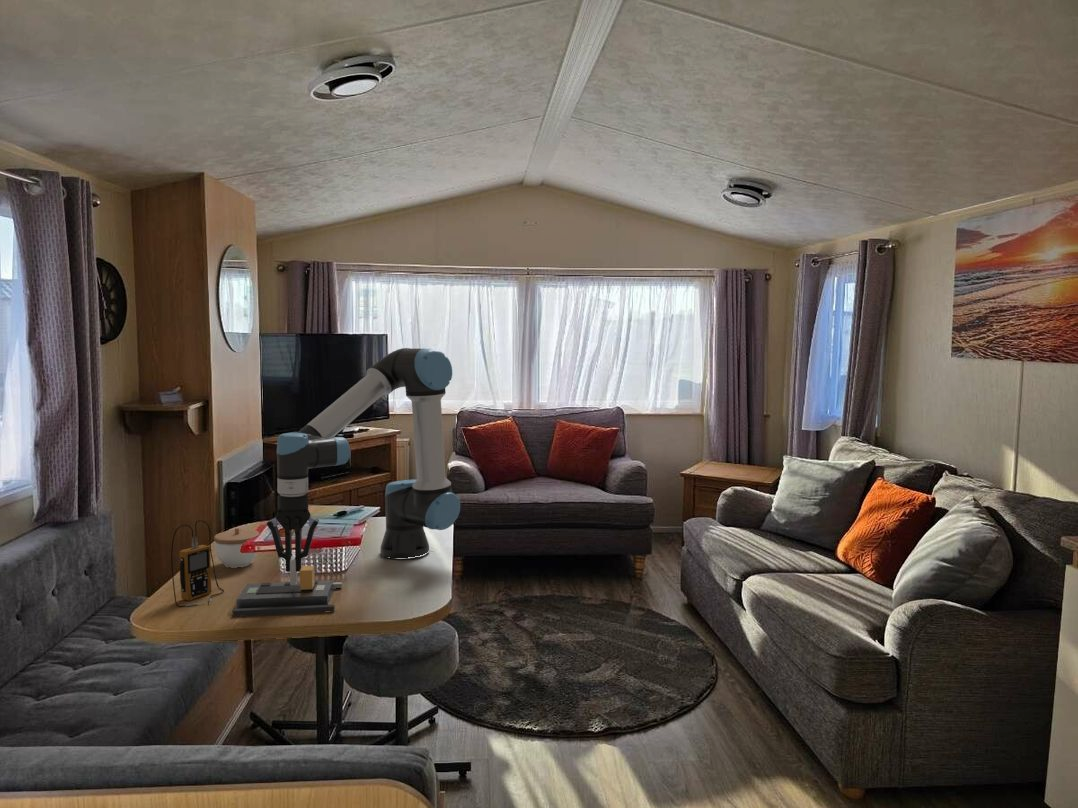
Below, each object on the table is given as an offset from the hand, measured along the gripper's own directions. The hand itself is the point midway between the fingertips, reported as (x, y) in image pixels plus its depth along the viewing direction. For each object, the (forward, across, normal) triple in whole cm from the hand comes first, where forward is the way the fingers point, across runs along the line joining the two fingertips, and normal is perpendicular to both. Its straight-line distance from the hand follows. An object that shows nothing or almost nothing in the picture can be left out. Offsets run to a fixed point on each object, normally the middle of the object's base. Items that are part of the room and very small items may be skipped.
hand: (293, 583), depth 199 cm
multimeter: (+5, -23, +4) cm, 24 cm away
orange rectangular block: (+1, +3, 0) cm, 4 cm away
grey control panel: (+5, -2, 0) cm, 5 cm away
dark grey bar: (+5, -1, -9) cm, 10 cm away
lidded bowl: (+5, -22, +34) cm, 41 cm away
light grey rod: (+5, -1, +8) cm, 10 cm away
